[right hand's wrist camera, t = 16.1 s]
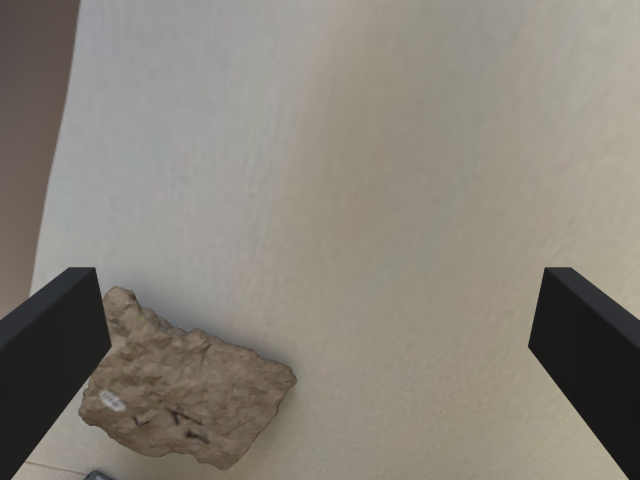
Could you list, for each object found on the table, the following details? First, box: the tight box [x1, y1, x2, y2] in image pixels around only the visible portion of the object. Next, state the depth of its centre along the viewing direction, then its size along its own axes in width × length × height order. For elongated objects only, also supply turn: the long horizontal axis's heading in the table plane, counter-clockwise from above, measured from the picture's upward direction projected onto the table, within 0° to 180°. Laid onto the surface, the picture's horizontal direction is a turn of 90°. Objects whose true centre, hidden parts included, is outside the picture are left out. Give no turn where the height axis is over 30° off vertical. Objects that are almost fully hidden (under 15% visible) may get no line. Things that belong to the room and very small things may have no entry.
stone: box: [78, 286, 297, 470], centre depth 44 cm, size 21×15×6 cm
